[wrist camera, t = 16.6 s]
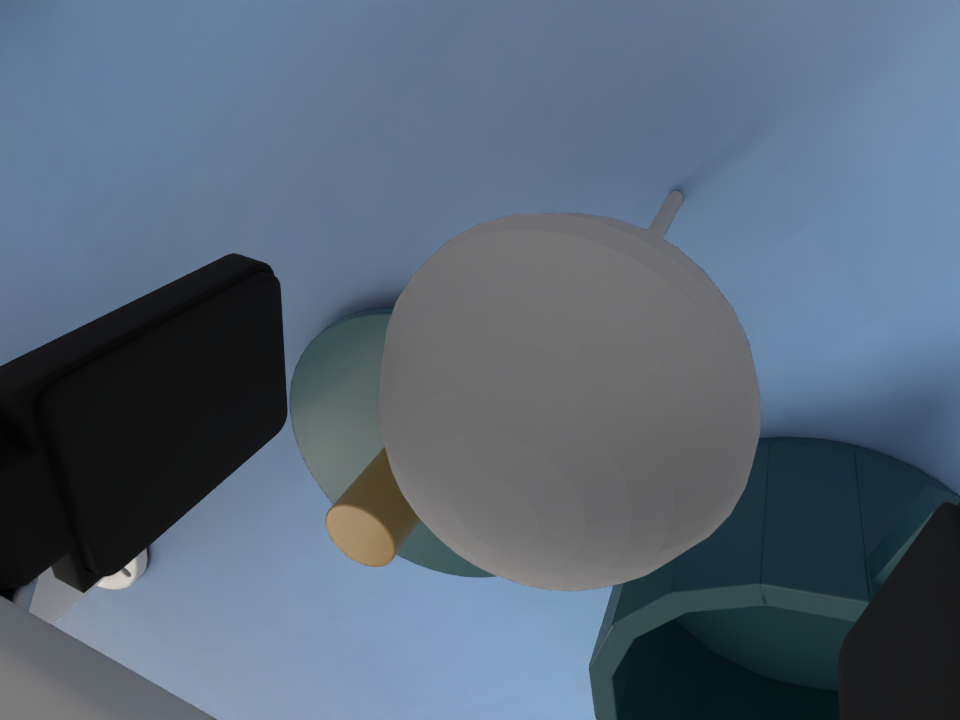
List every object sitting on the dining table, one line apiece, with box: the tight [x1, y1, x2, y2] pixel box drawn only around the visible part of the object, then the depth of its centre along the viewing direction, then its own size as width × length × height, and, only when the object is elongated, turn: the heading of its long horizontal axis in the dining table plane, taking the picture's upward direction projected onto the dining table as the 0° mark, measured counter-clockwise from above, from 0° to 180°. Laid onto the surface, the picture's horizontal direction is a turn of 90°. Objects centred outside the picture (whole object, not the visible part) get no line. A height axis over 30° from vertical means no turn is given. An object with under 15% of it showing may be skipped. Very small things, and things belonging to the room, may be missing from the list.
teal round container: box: [589, 437, 960, 720], centre depth 22 cm, size 13×18×7 cm
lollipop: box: [378, 191, 760, 591], centre depth 14 cm, size 6×6×15 cm
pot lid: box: [290, 308, 496, 577], centre depth 27 cm, size 14×14×6 cm
